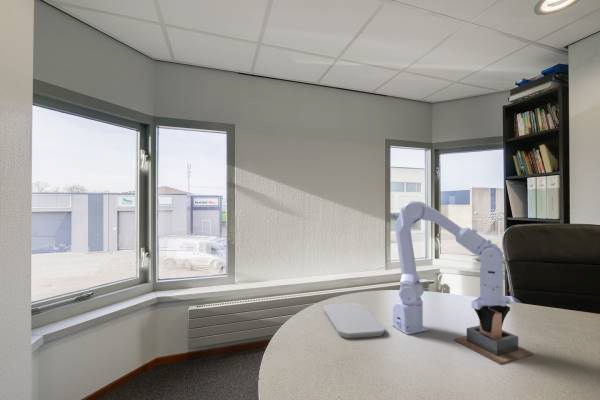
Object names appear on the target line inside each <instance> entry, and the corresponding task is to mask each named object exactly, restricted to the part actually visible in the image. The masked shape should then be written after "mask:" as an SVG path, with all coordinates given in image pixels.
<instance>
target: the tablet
mask: <svg viewBox="0 0 600 400" xmlns="http://www.w3.org/2000/svg"><path fill="white" fill-rule="evenodd" d="M322 309H323V312H324V313H325V315H326V316H327V318H328V319H329V321H330V322H331V324H332V325H333V327H334V328H335V330H336V331H337V333H338V335H339V336H340V337H342V338H344V339H354V338H366V337H367V338H370V337H381V336H382V335H383V334H384V333H385V332H386V327H385V326H384V325H383V324H382V323H381V321H379V320H378V319H377V318H376V317H375V316H374V315H373V314H372V313H371V312H370V311H368V309H367V308H365V307H364V305H362V304H360V303H356V302H349V303H348V302H346V303H329V304H324V305H323V306H322Z"/></svg>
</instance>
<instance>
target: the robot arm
mask: <svg viewBox="0 0 600 400" xmlns="http://www.w3.org/2000/svg"><path fill="white" fill-rule="evenodd" d="M420 220H422V221H429V222H434V223H435V224H437V225H438V226H440V227H441V228H442V229H444V230H445V231H447V232H449V233H451V235H453V236H454V237H455V242H457V243H458V244H459V245H461V246H462V247H463V248H465V249H466V250H468V251H469V252H470V253H471V254H473V255H475V256H478V257H479V260H480V268H479V287H480V288H479V292H480V293H479V297H478V298H476V299H474V300H471V304H470V305H471V306H470V307H471V308H473V310H474V311H475V314H476V315H477V317H478V319H479V324H480V323H481V327H482V330H484V331H486V332H488V333H490V332H491V327H492V319H493V316H494V314H495V311H497V312H500V313H502V326H503V325H504V321H505V319H506V316H507V315H508V314H509V312H510V311H511V307H510V306H508V305H510V304H511V303H512V301H511V300H512V298H511V297H510V296H507V295H504V271H503V264H502V263H503V261H504V259H505V258H504V254H503V251H502V249H501V248H500V247H499V246H498V245H497V244H495V243H492V240H490V239H488V240H487V239H486V238H485V237H483V236H482V235H480V234H479V233H477V230H476V229H475V228H470V227H461V226H460V225H458V224H457V223H455V222H454V221H452V220H451V219H449V217H448V216H446V215H444V214H443V213H441V212H440V211H438V210H437V209H436V208H434V207H432V206H430V205H428V204H426V203H425V202H423V201H415V200H413V201H412V200H411V201H408V202H407V203H405V204H404V205H403V206H402V207H401V208H400V212H399V215H398V216H397V218H396V221H395V223H394V229H395V230H394V231H395V235H396V236H395V237H396V244H397V250H398V251H397V252H398V258H399V259H398V260H399V266H400V272H401V276H400V279H399V280H400V282H399V283H400V288H399V290H398V296H399V298H400V300H399V302H398V303H395V304H394V305H393V306H392V307H393V309H392V323H391V326H392V327H394V328H396V329H397V330H399V331H400V332H402V333H404V334H406V335H412V334H417V333H421V332H422V333H423V332H427V331H429V328H428V327H427V326H425V325H424V320H423V319H424V318H423V317H424V315H423V314H424V313H423V312H424V311H423V310H424V309H423V308H424V307H423V305H424V304H423V303H424V301H423V300H422V295H423V294H424V290H425V289H424V285H423V284H422V283H421V281H420V277H419V274H418V271H417V267H416V258H415V252H414V244H413V237H412V231H411V229H412V227H413V226H414V225H415V224H416V223H417V222H419V221H420ZM490 309H491V310H490ZM493 310H494V311H493Z"/></svg>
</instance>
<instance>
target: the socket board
mask: <svg viewBox="0 0 600 400" xmlns="http://www.w3.org/2000/svg"><path fill="white" fill-rule="evenodd" d="M454 342H457V343H458V344H460V345H462V346H464V347H466V348H468V349H469V350H471V351H474V352H476V353H478V354H479V355H481V356H483V357H485V358H487V359H488V360H490V361H493V362H494V363H496V364H498V365H503V364H507V363H509V362H510V363H511V362H514V361H517V360H520V359H523V358H527V357H530V356H533V355H534V353H533V352H532V351H530V350H527V349H525V348H523V347H520V346H519V336H518V335H515V334H514V333H511V332H508V331H506V330H504V329H502V338H499V339H494V338H492V337H489V336H487V335H485V334H483V333H480V324H479V325H475V326H471V327H466V336H461V337H456V338H454Z"/></svg>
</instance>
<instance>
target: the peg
mask: <svg viewBox="0 0 600 400" xmlns="http://www.w3.org/2000/svg"><path fill="white" fill-rule="evenodd" d="M490 310H491V309H490ZM493 311H494V310H493ZM479 325H480V333H483V334H485V335H487V336H489V337H492V338H494V339H499V338H502V330H503V325H502V313H500V312H497V311H495V314H494V316H493V319H492V327H491V332H490V333H488V332H486V331H484V330H482V327H481V323H480V322H479Z"/></svg>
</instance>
